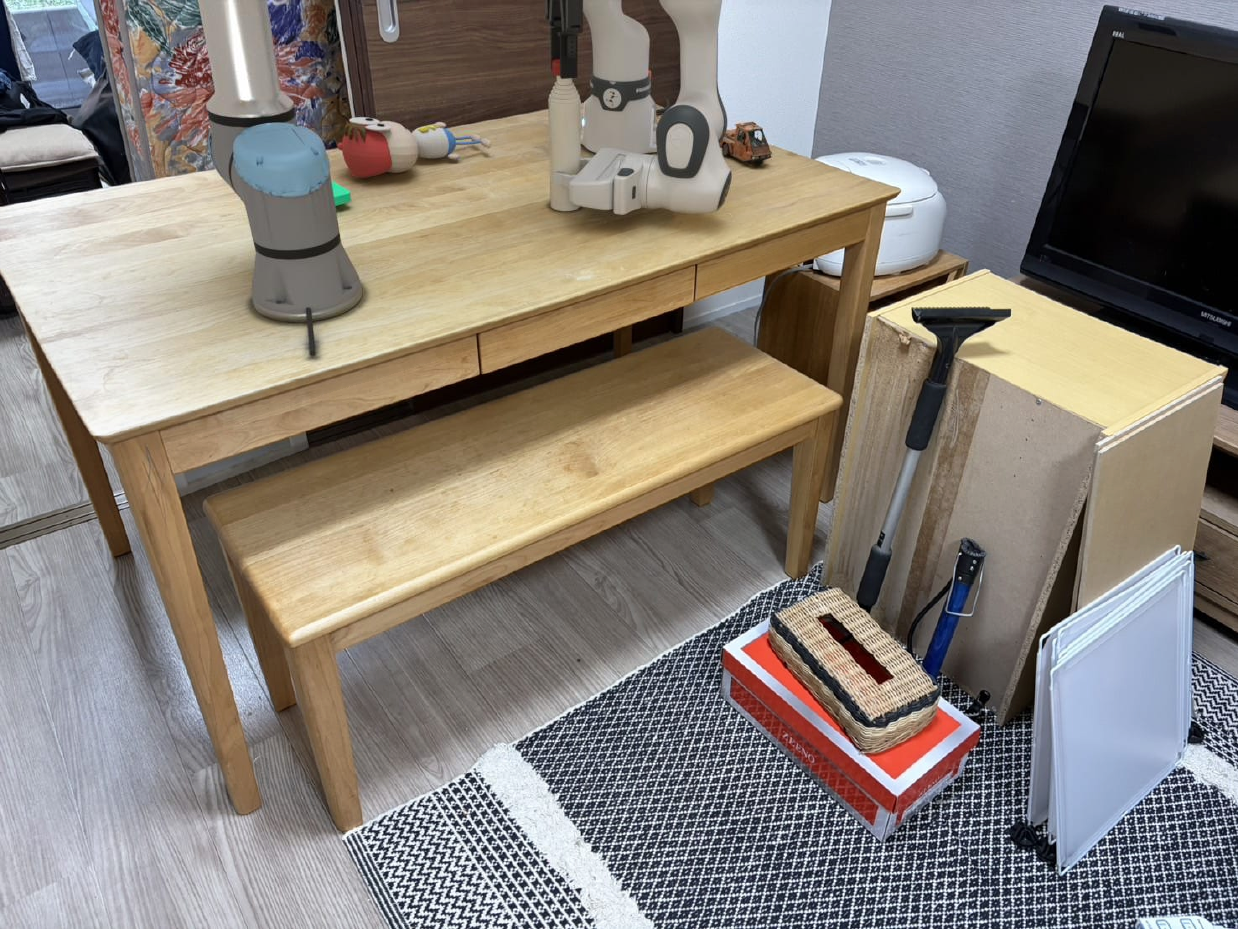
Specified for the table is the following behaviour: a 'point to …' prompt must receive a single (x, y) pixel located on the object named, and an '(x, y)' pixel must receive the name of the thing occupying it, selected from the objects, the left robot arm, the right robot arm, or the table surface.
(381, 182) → the table surface
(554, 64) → the cap
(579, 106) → the bottle
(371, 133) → the toy
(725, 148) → the toy car
